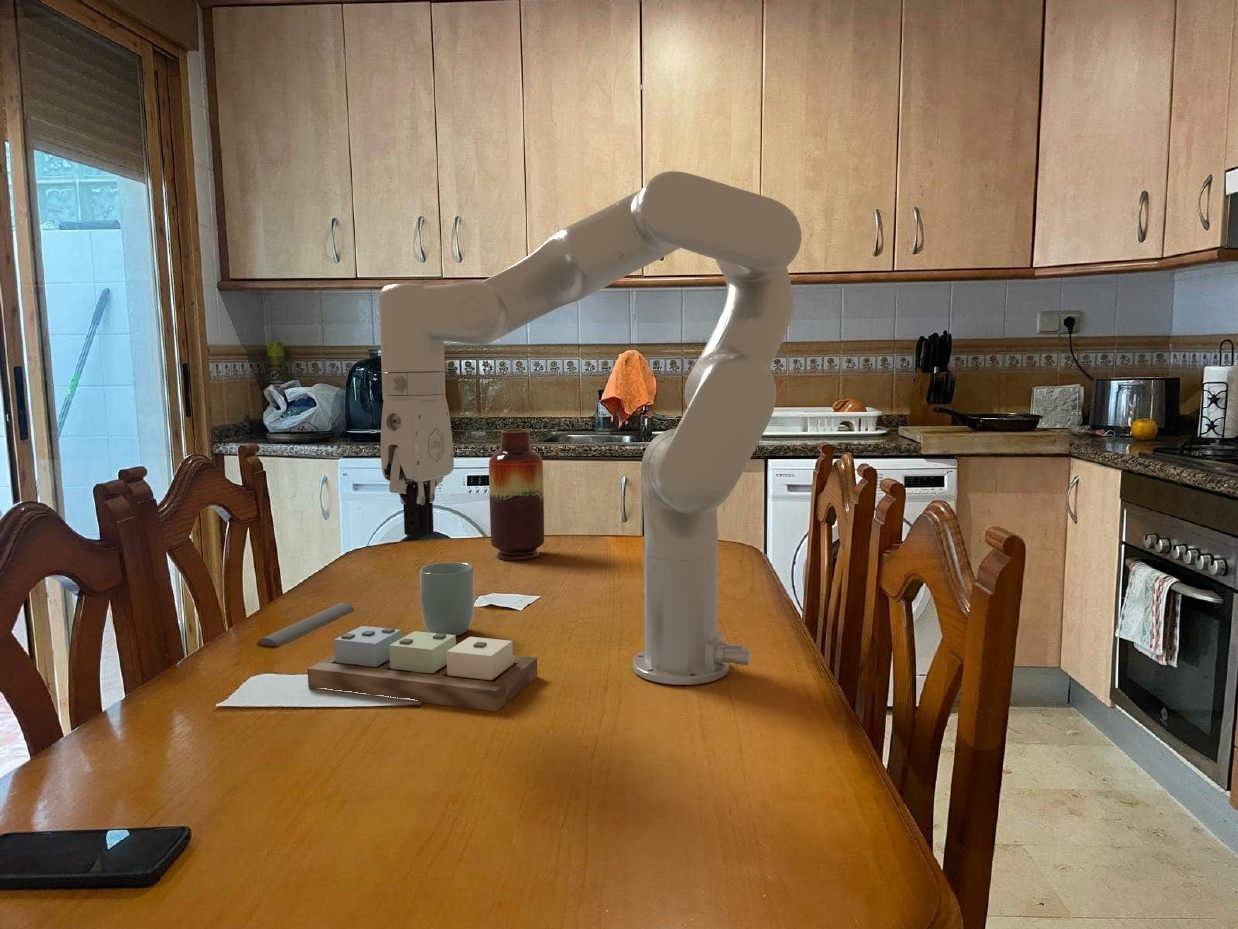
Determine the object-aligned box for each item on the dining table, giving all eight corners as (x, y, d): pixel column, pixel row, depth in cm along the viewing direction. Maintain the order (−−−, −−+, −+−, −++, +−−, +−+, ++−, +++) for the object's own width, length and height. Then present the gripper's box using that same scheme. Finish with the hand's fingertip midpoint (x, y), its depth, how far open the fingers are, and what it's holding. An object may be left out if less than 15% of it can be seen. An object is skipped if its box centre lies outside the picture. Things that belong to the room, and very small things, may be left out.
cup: (463, 643, 130) (461, 575, 129) (413, 640, 131) (411, 573, 130) (482, 627, 137) (480, 563, 136) (434, 624, 139) (432, 561, 138)
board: (537, 676, 116) (537, 657, 116) (496, 711, 104) (495, 690, 104) (363, 657, 124) (363, 639, 124) (308, 687, 113) (307, 668, 112)
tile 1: (513, 663, 113) (512, 638, 113) (491, 680, 108) (491, 653, 107) (470, 659, 115) (469, 634, 115) (447, 675, 110) (446, 649, 109)
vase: (555, 553, 188) (553, 429, 185) (522, 564, 179) (519, 433, 175) (513, 548, 194) (511, 427, 191) (479, 558, 184) (476, 431, 181)
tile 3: (402, 652, 118) (401, 627, 118) (376, 667, 113) (375, 641, 112) (362, 647, 120) (361, 623, 120) (335, 662, 114) (334, 637, 114)
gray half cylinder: (254, 648, 130) (253, 636, 130) (333, 611, 148) (333, 601, 148) (279, 651, 129) (278, 639, 128) (356, 613, 147) (356, 603, 147)
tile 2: (456, 657, 116) (455, 633, 115) (432, 673, 110) (431, 647, 110) (415, 653, 118) (414, 628, 117) (390, 668, 112) (389, 642, 112)
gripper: (408, 389, 101) (413, 549, 104) (470, 385, 116) (474, 525, 118) (351, 389, 104) (358, 545, 106) (418, 385, 118) (423, 522, 120)
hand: (419, 534), depth 112 cm, fingers closed
